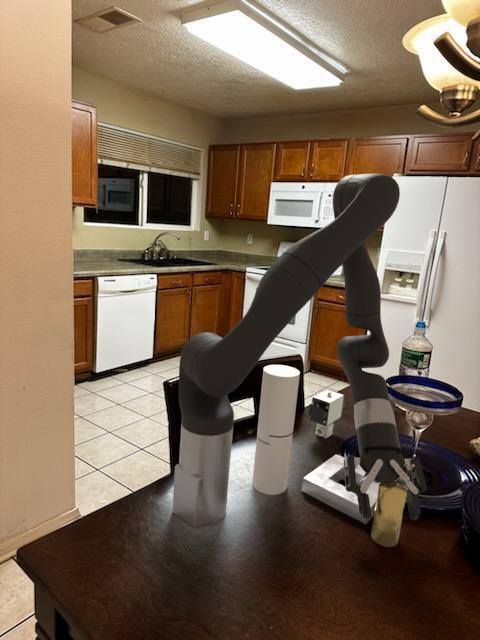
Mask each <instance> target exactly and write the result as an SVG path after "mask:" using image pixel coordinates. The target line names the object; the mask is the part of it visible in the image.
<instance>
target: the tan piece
mask: <svg viewBox="0 0 480 640" xmlns="http://www.w3.org/2000/svg"><path fill="white" fill-rule="evenodd" d="M406 497H407V490H406V488H405V487H404V486H403V485H401V484H400V483H398V482H395V481H390V480H384V481H381V482H380V483H379V489H378V495H377V501H376V507H375V513H374V516H373V519H372V525H371V532H370V536H371V539H372V540H373V541H374V542H375V543H376V544H377V545H380V546H382V547H386V548H394V547H396V546H397V545H398V542H399V537H400V533H401V526H402V521H403V516H404V510H405V505H406Z"/></svg>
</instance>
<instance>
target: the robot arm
mask: <svg viewBox="0 0 480 640" xmlns="http://www.w3.org/2000/svg"><path fill="white" fill-rule="evenodd" d="M400 190H401V189H400V186H399V184H398V182H397V181H396V180H395V179H394V178H393V177H392V176H390V175H387V174H384V173H359V174H350V175H346V176H344V177H343V178H341V179H340V180H339V181H338V182H337V184H336V185H335V188H334V190H333V194H332V210H333V217H334V218H333V220H332V221H330V222H329V223H328V224H327V225H325V226H324V227H321V228H320V229H318V230H316V231H313V232H312V233H311V234H309V235H306V236H305V237H304V238H301V239H300V240H298V241H297V242H295V243H294V244H292V245H291V246H289V247H288V248H287V249H286V250H285V251H283V253H282V254H281V255H280V256H279V257H277V259H276V260H275V261H273V263H272V264H271V265H270V266H269V268H268V269H267V270H266V271H265V272H264V273H263V276H262V277H261V279H260V281H259V283H258V286H257V288H256V291H255V294H254V296H253V298H252V301H251V303H250V306H249V308H248V310H247V312H246V313H245V315H244V316H243V317H242V319H241V320H240V321H239V322H238V323H237V324H236V325H235V326H234V327H233V328H232V329H231V331H229V332H228V333H227V334H226V335H225V336H224V337H222V336H220V335H219V334H216V333H213V332H207V331H205V332H199V333H197V334H194V335H193V336H192V337H190V338H189V339H188V340H187V341H186V343H185V344H184V346H183V348H182V350H181V355H180V358H179V369H178V405H179V409H180V413H181V422H180V423H181V424H180V425H181V426H180V443H179V461H178V462H179V463H178V464H176V465H175V466H174V476H173V491H172V494H173V495H172V513H174V514H175V516H178V517H179V518H180V519H182V520H183V521H185V522H186V523H187V524H189V525H190V526H192V527H193V528H198V527H200V526H205V525H206V526H207V525H212V524H215V523H217V522H219V521H220V520H221V519H223V518H224V516H225V514H226V513H227V503H228V489H229V481H230V480H229V479H230V478H229V477H230V469H231V468H230V467H231V457H232V444H233V433H234V431H233V430H234V420H235V412H234V409H233V407H232V404H231V402H230V400H229V395H228V394H230V393H232V392H233V391H235V390H236V389H237V388H238V387H239V386H240V385H241V384H242V383H243V381H245V379H246V378H247V377H248V376H249V374H250V372H251V371H252V370H253V369H254V367H255V366H256V364H257V363H258V361H260V359H261V358H262V357H263V356H264V353H266V350H268V348H269V346H271V344H272V343H273V342H274V340H275V339H277V337H278V336H279V335H280V333H282V331H284V329H285V328H286V327H287V325H289V323H290V322H291V321H292V320H293V319H294V317H295V316H296V315H297V314H298V313H299V312H300V310H302V309H303V308H304V307H305V306H306V305H307V303H309V301H310V300H312V298H313V297H314V296H315V295H316V293H318V292H319V291H320V289H321V288H322V287H323V286H324V284H326V282H327V281H328V280H329V279H330V278H331V276H333V274H334V273H335V272H336V271H337V270H338V269H339V268H340V267H341V266H342V269H343V270H342V271H343V280H344V303H345V305H344V308H345V310H344V312H345V313H344V314H345V315H344V316H345V322H346V324H347V325H348V326H350V327H351V328H355V329H361V330H365V331H369V334H362V335H349V336H348V335H346V336H344V337H342V338H341V339H340V340H339V341H338V343H337V346H336V355H337V358H338V361H339V364H340V365H341V367H342V370H343V371H344V374H345V375H346V379H347V381H348V383H349V386H350V391H351V397H352V403H353V404H352V405H353V419H354V428H355V433H356V438H357V439H356V440H357V446H358V452H359V457H357V456H354V455H352V454H348V455H347V456H346V457H344V458H345V459H344V473H345V481H344V483H345V484H344V485H345V487H346V490H347V491H348V492H353V493H355V494H356V495H357V498H358V505H359V512H360V514H361V515H363V518H370V517H371V508H370V502H369V495H368V494H366V492H367V490H368V488H369V486H370V485H371V483H372V482H373V481H374V482H375V483H380V482H381V481H384V480H390V481H395V482H398V483H400V484H401V485H403V486H404V487H405V488H406V490H407V495H406V500H405V502H406V504H407V511H408V516H409V519H410V520H417V519H419V518H420V515H422V514H421V512H422V510H421V506H420V505H421V504H420V500H419V494H421V493H424V492H425V491H427V490H428V486H427V483H426V478H425V474H424V471H423V467H422V463H421V461H420V458H419V457H418V456H414V457H412V458H404V457H403V455H402V452H401V444H400V438H399V434H398V429H397V424H396V423H397V422H396V420H395V418H396V417H395V414H394V410H393V407H392V404H391V400H390V395H389V394H390V393H389V391H388V386H387V382H386V379H385V378H384V376H382V375H381V374H377V373H373V372H369V371H365V370H363V369H376V368H377V369H378V368H382V367H384V366H385V365H386V364H387V362H388V361H389V358H390V350H389V347H388V342H387V339H386V337H385V332H384V330H383V325H382V319H381V318H382V317H381V316H382V315H381V312H382V311H381V309H382V308H381V307H382V306H381V305H382V304H381V301H382V299H381V298H382V296H381V294H382V292H381V283H380V279H379V276H378V274H377V271H376V268H375V266H374V264H373V261H372V259H371V257H370V254H369V251H368V248H367V245H366V244H367V243H366V241H367V240H368V239H369V238H370V237H372V236H373V235H374V234H375V233H376V232H377V231H378V230H380V229H381V227H383V226H384V225H385V224H386V223H387V222H388V221H390V219H391V218H392V216H393V215H394V213H395V211H396V209H397V208H398V204H399V202H400V193H401V192H400ZM358 464H359V465H360V467H361V468H362V469H363V470H364V471H365V474H364V476H363V478H362V480H361V481H360V484H359V485H357V484H356V473H355V469H356V468H357V467H358ZM405 467H406V470H407V471H408V472H409V474H410V477H411V478H410V477H409V475H407V473H406V472H405V471H404V470H403V469H404V468H405Z"/></svg>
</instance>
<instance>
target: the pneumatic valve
mask: <svg viewBox="0 0 480 640" xmlns="http://www.w3.org/2000/svg"><path fill="white" fill-rule="evenodd" d="M345 396H346V395H345V394H344V393H341V392H338V391H336V390H331V389H328V390H325V391H323V392H320V391H319V392H318V393H316V394H315V396H314V397H313V396H312V398H311V403H309V405H308V412H307V414H308V415H307V416H308V417H309V421H311V422H313V423H316V429H315V433H314V434H315V435H316V436H319V437H323V438H324V439H327V438H329V437H331V436H332V435H333V433H334V432H333V428H334V426H335V424H334V422H335V421H337V420H338V419H340V418H341V417H343V409H344V408H345V404H346V401H345Z"/></svg>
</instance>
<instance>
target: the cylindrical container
mask: <svg viewBox="0 0 480 640" xmlns="http://www.w3.org/2000/svg"><path fill="white" fill-rule="evenodd" d="M262 372H263V373H262V381H261V392H260V401H259V409H258V411H259V412H258V422H257V432H256V433H257V434H256V442H255V453H254V463H253V473H252V486H253V488H255V490H256V491H258V492H260V493H261V494H265V495H269V496H270V495H272V496H275V495H280V494H282V493H284V492H285V491H286V490H287V487H288V480H289V479H288V478H289V471H290V470H289V469H290V461H291V452H292V443H293V436H294V435H293V434H294V425H295V417H296V411H297V410H296V409H297V401H298V400H297V399H298V392H299V385H300V377H301V375H300V374H301V371H300V370H299V369H297V368H296V367H292V366H289V365H284V364H268V365H266V366H264V367H263V370H262Z"/></svg>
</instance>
